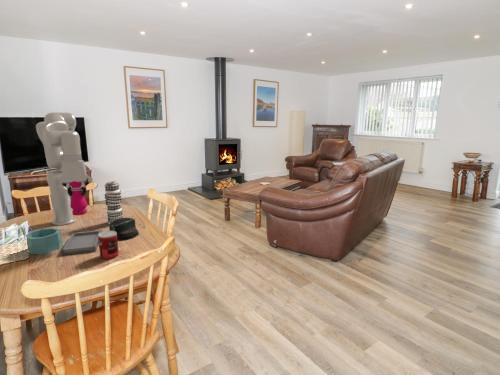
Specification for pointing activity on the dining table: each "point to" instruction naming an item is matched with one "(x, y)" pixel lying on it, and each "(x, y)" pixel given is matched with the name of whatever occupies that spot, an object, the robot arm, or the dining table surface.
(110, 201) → the gray white banded cylinder
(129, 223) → the black hat
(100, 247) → the canned food
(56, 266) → the dining table surface
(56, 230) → the crock
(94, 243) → the tray
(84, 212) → the pepper mill
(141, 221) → the dining table surface
